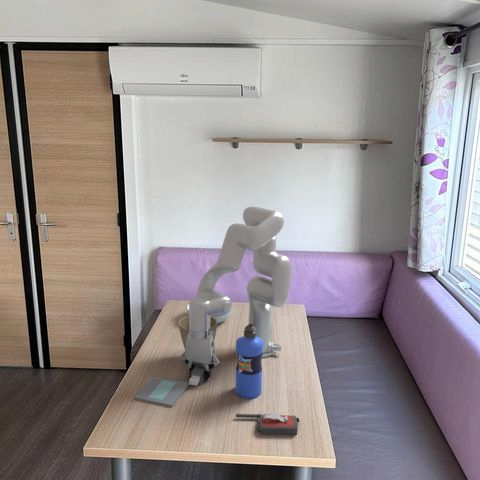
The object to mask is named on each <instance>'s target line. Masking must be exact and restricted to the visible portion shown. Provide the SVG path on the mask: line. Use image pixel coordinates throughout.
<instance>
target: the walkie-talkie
mask: <svg viewBox="0 0 480 480" xmlns="http://www.w3.org/2000/svg"><path fill="white" fill-rule="evenodd" d="M235 418H243V419H244V418H248V419H249V418H251V419H254V418H255V419H257V428H256V429H257V431H259V432H260V433H259V434H260V435H262V436H263V435H266V436H268V435H271V436H276V435H277V436H279V435H280V436H281V435H282V436H297V435H298V430H299V425H298V423H299V422H300V418H299V417H297V416H296V415H286V414H285V415H281V414H279V413H278V414H277V413H275V412H274V411H273V412H269V411H267V412H266V411H260V413H256V414H254V413H252V414H251V413H249V414H248V413H236V414H235Z"/></svg>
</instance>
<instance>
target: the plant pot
mask: <svg viewBox="0 0 480 480" xmlns="http://www.w3.org/2000/svg"><path fill="white" fill-rule="evenodd" d="M210 327H211V330H212V331H214V334H212V335H213V339H214V340H215V338H216V334H217V328H218V323H217V319H215V318H214V317H211V322H210ZM178 329H179V333H180V337H181V342H182V344H183V348H184V350H185V349H186V341H187V336H188V334H189V315H187V316H184V317H181V318H180V319H179V320H178ZM194 364H195V365H197V364H199V362H194Z"/></svg>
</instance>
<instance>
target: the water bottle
mask: <svg viewBox="0 0 480 480" xmlns="http://www.w3.org/2000/svg"><path fill="white" fill-rule="evenodd" d="M243 329H244V330H243V335H242V336H239V337H237V338H236V340H235V351H236V367H235V394H236V395H237V396H238V397H239V398H241V399H244V400H245V399H246V400H251V399H256V398H259V396H261V395H262V388H263V387H262V384H263V383H262V382H263V381H262V380H263V366H262V358H263V357H262V353H263V344H264V342H263V340H262V339H261V338H259V337H256V328H255V327H254V326H253V325H252V324H249V323H248V324H247V325H245V327H244V328H243Z"/></svg>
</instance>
